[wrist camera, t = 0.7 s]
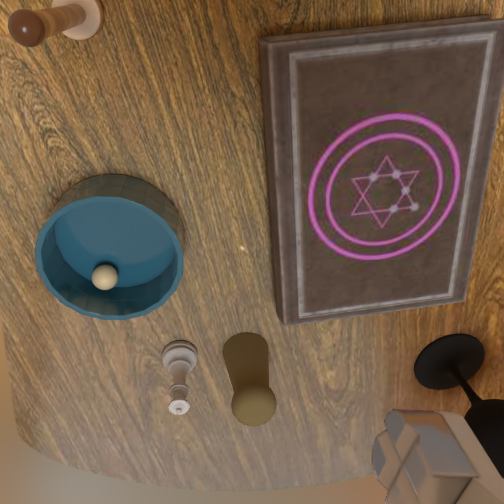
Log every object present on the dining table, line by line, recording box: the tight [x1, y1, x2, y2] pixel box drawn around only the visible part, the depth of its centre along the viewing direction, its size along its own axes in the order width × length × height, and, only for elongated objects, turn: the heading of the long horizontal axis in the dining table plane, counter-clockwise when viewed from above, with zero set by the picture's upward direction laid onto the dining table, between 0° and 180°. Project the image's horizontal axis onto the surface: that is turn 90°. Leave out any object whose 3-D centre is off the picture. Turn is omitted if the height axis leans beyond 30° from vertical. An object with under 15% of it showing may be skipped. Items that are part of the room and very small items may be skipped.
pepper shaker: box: [223, 333, 277, 426], centre depth 58 cm, size 6×6×11 cm
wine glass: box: [414, 334, 504, 478], centre depth 60 cm, size 10×10×20 cm
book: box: [258, 14, 504, 326], centre depth 50 cm, size 30×22×5 cm
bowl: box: [35, 174, 184, 320], centre depth 50 cm, size 14×14×6 cm
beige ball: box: [92, 265, 118, 290], centre depth 52 cm, size 3×3×3 cm
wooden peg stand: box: [8, 0, 104, 47], centre depth 34 cm, size 4×4×17 cm
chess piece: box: [163, 341, 197, 414], centre depth 57 cm, size 4×4×10 cm
